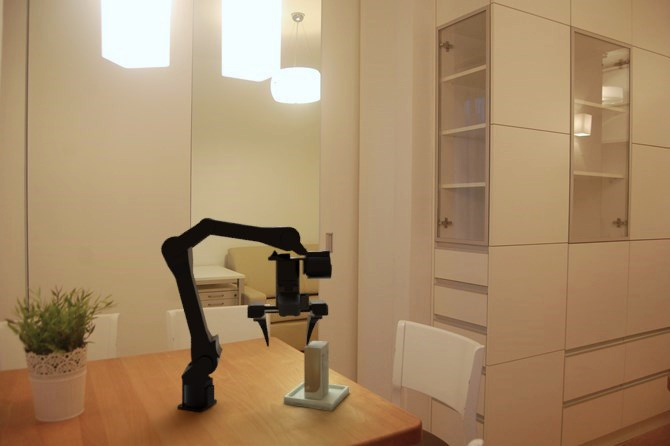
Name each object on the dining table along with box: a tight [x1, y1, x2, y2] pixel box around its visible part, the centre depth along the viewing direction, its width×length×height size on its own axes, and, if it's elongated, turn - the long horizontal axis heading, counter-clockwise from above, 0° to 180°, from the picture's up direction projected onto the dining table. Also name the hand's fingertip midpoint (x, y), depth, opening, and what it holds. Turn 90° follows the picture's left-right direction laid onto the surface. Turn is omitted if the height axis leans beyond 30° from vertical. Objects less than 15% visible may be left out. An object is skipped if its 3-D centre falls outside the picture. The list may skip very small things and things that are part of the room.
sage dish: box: [283, 381, 350, 412], centre depth 111 cm, size 12×12×2 cm
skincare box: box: [303, 340, 330, 400], centre depth 111 cm, size 6×4×12 cm
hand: (287, 345), depth 110 cm, fingers open, 9 cm apart
